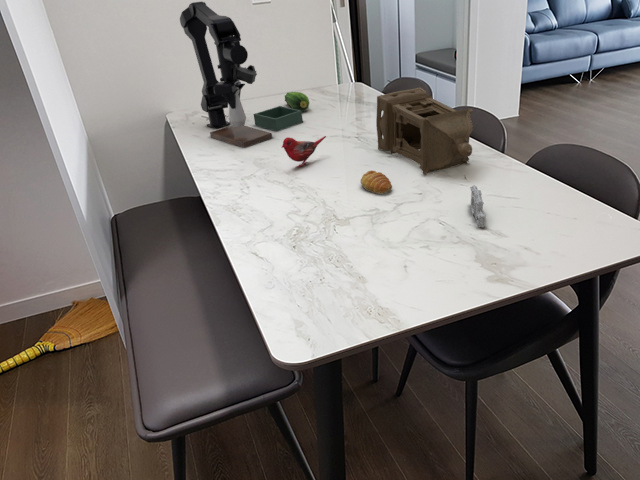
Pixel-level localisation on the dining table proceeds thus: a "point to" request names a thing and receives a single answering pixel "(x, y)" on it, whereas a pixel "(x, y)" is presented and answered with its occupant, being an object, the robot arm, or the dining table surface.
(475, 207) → the garden wall model
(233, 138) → the serving board
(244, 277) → the dining table surface
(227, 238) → the dining table surface
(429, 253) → the dining table surface
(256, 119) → the green square tray
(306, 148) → the decorative bird figurine
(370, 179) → the pastry
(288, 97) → the vegetable
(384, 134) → the brown lantern
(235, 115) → the salt shaker
